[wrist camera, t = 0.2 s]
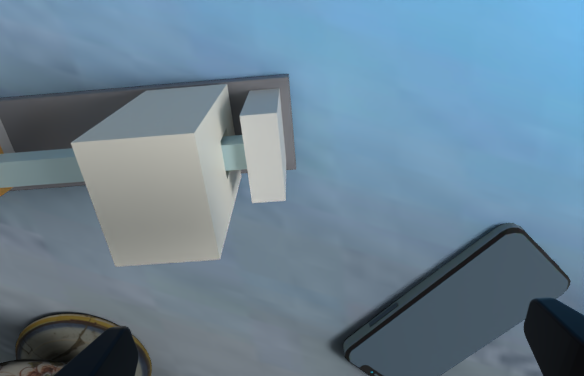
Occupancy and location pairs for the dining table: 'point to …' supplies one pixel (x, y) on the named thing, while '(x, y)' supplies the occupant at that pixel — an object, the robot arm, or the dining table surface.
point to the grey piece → (102, 103)
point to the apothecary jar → (61, 345)
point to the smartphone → (458, 307)
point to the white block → (162, 176)
